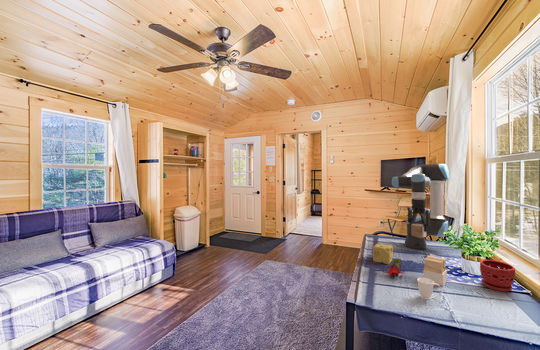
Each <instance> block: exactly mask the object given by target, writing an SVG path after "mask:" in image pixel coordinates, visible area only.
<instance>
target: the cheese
mask: <svg viewBox="0 0 540 350" xmlns="http://www.w3.org/2000/svg"><path fill="white" fill-rule="evenodd" d="M393 256H394V249H393V245H390V244H381V243H376V244H375V245H373V247H372V260H373V261H372V262H375V263H382V264H386V265H390V264H391V262H393Z"/></svg>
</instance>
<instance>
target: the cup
mask: <svg viewBox="0 0 540 350" xmlns="http://www.w3.org/2000/svg"><path fill="white" fill-rule="evenodd" d="M416 281H417V285H418V286H417V287H418V292H419V296H420V298H421V299H423V300H426V301H427V300H430V301H431V299H435V298H438V297H439V296H441V295H442V293H443V290H442V287H441V285H439V284H436V283H434V281H432V280H431V279H428V278H423V277H418V278H417V279H416ZM434 286H438V287H439V288H440V293H438V294H436V295H435V296H432V295H433V291H434Z"/></svg>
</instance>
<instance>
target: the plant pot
mask: <svg viewBox="0 0 540 350" xmlns="http://www.w3.org/2000/svg"><path fill="white" fill-rule="evenodd" d="M499 267H500V268H499ZM479 271H480V275H481V283H482V285H483V286H485V287H487V288H489V289H490V290H494V291H498V292H510V291H512V290H513V286H512V285H513V283H514V281H515V278H516V268H515V267H514V266H513V265H511V264H509V263H507V262H502V261H500V260H492V259H483V260H480V261H479Z"/></svg>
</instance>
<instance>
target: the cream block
mask: <svg viewBox="0 0 540 350" xmlns="http://www.w3.org/2000/svg"><path fill="white" fill-rule="evenodd" d="M422 275H423V277H422V278H428V279H431V280H432V281H434V283H436V284H439V285H440V287H441V286H442V287H444V286H445V285H446V283H447V281H448V270H447V269H446V270H445V271H444V273H443V274H439V273H435V272H430V271H426V270H424V269H423V272H422Z"/></svg>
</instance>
